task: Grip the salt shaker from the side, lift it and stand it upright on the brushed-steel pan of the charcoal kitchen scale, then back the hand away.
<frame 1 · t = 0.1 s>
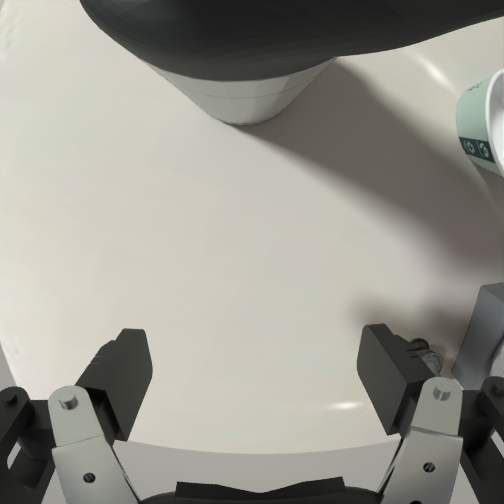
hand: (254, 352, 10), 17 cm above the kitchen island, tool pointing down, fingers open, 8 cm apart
food container: (482, 126, 24), on the kitchen island
kitchen scale: (497, 325, 32), on the kitchen island
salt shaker: (410, 354, 33), on the kitchen island
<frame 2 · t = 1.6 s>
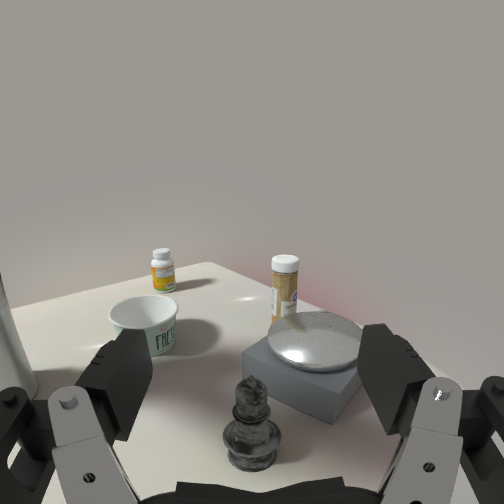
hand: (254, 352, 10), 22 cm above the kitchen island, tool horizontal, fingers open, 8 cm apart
food container: (149, 343, 49), on the kitchen island
scale pan: (316, 342, 39), point 6 cm above the kitchen island, slide at -0.4 cm
sprinkles bottle: (283, 328, 54), on the kitchen island
kitchen scale: (311, 376, 41), on the kitchen island
supplement bottle: (165, 289, 71), on the kitchen island
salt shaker: (252, 454, 28), on the kitchen island
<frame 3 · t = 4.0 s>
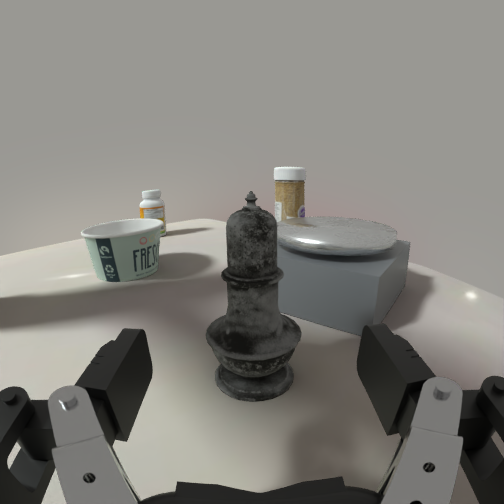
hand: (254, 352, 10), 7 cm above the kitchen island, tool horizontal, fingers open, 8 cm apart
food container: (127, 272, 41), on the kitchen island
scale pan: (334, 239, 31), point 6 cm above the kitchen island, slide at -0.4 cm
sprinkles bottle: (289, 258, 46), on the kitchen island
kitchen scale: (331, 292, 32), on the kitchen island
supplement bottle: (154, 236, 63), on the kitchen island
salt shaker: (254, 377, 19), on the kitchen island
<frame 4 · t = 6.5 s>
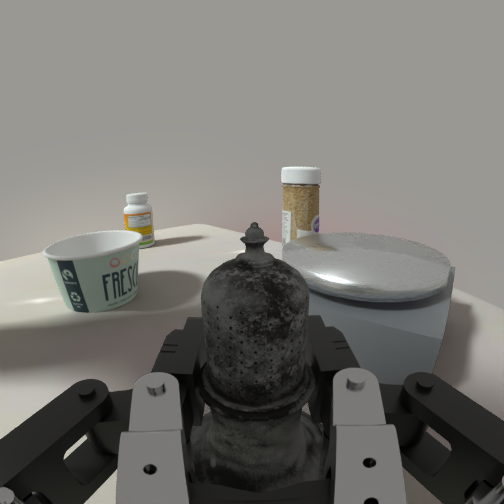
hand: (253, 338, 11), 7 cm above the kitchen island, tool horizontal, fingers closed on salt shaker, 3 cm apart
food container: (100, 297, 32), on the kitchen island
scale pan: (366, 267, 22), point 6 cm above the kitchen island, slide at -0.4 cm
sprinkles bottle: (299, 279, 37), on the kitchen island
kitchen scale: (357, 335, 24), on the kitchen island
supplement bottle: (141, 246, 54), on the kitchen island
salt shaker: (256, 492, 11), on the kitchen island, touching gripper
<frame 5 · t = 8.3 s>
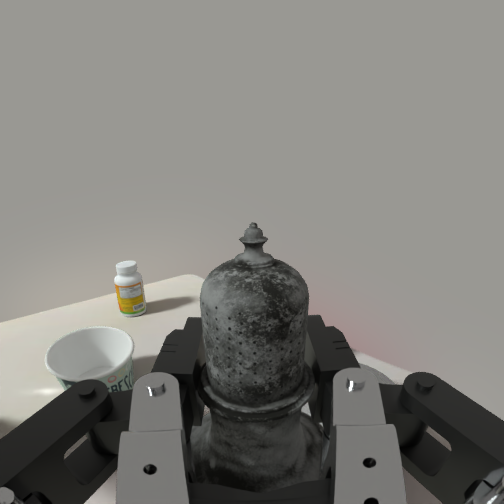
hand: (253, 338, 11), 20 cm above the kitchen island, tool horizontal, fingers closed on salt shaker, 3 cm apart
food container: (102, 390, 33), on the kitchen island
scale pan: (331, 412, 23), point 6 cm above the kitchen island, slide at -0.4 cm
supplement bottle: (133, 312, 55), on the kitchen island
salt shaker: (256, 492, 11), point 12 cm above the kitchen island, touching gripper
when the fingers open (15 cm above the kitchen island, at t = 10.4 s): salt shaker drops 1 cm, resting on scale pan.
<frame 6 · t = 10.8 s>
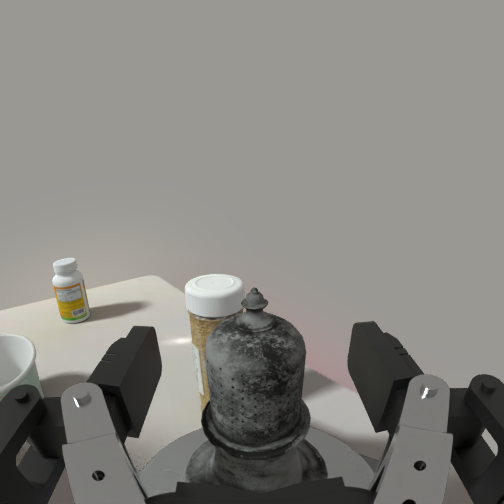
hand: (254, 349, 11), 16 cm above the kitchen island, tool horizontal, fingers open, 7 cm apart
food container: (13, 410, 21), on the kitchen island
sprinkles bottle: (224, 410, 27), on the kitchen island
supplement bottle: (76, 317, 44), on the kitchen island
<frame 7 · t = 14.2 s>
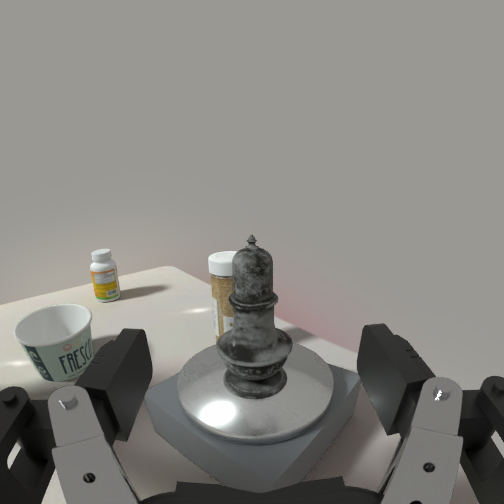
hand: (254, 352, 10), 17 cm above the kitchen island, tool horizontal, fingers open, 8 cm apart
food container: (65, 363, 34), on the kitchen island
scale pan: (255, 388, 24), point 6 cm above the kitchen island, slide at -0.8 cm, touching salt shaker
sprinkles bottle: (233, 352, 39), on the kitchen island
kitchen scale: (256, 429, 26), on the kitchen island
supplement bottle: (108, 298, 57), on the kitchen island
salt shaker: (255, 380, 24), point 7 cm above the kitchen island, touching scale pan
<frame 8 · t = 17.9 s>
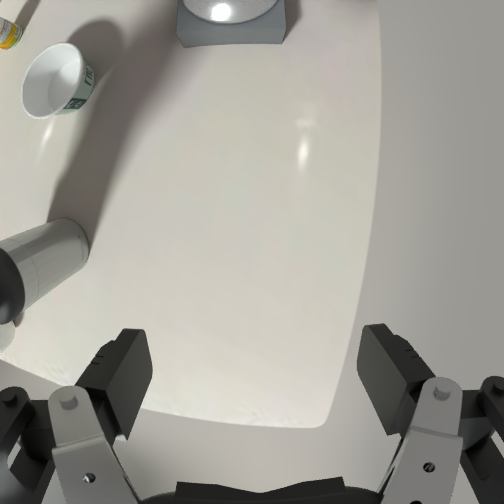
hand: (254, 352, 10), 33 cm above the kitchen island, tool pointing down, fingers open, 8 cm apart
food container: (71, 87, 36), on the kitchen island
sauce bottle: (10, 321, 47), on the kitchen island
kitchen scale: (232, 7, 34), on the kitchen island
supplement bottle: (14, 38, 32), on the kitchen island
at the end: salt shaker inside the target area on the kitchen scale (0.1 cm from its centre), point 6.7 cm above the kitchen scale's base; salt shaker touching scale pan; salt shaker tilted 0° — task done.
